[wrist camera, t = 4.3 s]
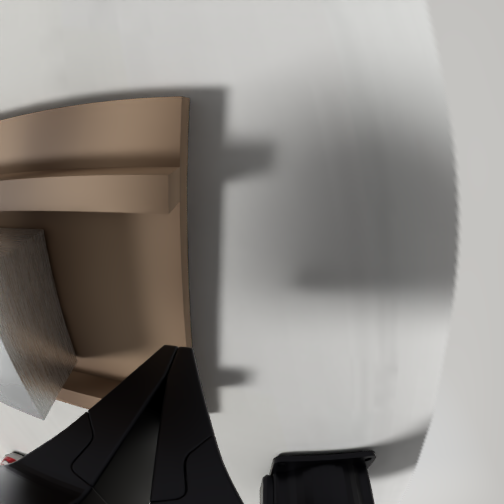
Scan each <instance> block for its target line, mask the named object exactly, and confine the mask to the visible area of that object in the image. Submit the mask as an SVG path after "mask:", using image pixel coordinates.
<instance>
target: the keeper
mask: <svg viewBox="0 0 504 504" xmlns="http://www.w3.org/2000/svg"><path fill="white" fill-rule="evenodd" d="M77 362H78V360H77V357H76V354H75V351H74V349H73V346H72V343H71V340H70V337H69V334H68V330H67V327H66V324H65V321H64V317H63V314H62V310H61V307H60V303H59V300H58V296H57V292H56V288H55V284H54V280H53V276H52V271H51V267H50V262H49V257H48V252H47V247H46V242H45V236H44V231H43V229H24V228H1V227H0V402H2V403H4V404H6V405H8V406H11V407H13V408H15V409H18V410H20V411H22V412H25V413H27V414H29V415H32V416H34V417H37V418H40V419H42V420H45V418H46V416H47V414H48V412H49V410H50V409H51V407H52V405H53V403H54V401H55V400H56V398H57V396H58V394H59V392H60V391H61V389H62V387H63V385H64V384H65V382H66V380H67V379H68V377H69V375H70V373H71V372H72V370H73V368H74V367H75V365H76V363H77Z"/></svg>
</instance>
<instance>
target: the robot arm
mask: <svg viewBox="0 0 504 504" xmlns="http://www.w3.org/2000/svg"><path fill="white" fill-rule="evenodd" d="M375 458H376V456H375V452H374V451H364V452H355V453H344V454H331V455H312V456H279V457H276V458H274V459H273V462H272V466H271V470H270V473H269V475H266V476H264V477H263V479H262V483H261V487H260V504H374V499H373V494H372V489H371V484H370V479H369V475H368V470H367V469H368V467H369V466H370V465H371V464H372V462H373V461H374V460H375ZM149 502H150V504H244V503H243V501H242V499H241V498H240V496H239V494H238V492H237V490H236V488H235V486H234V484H233V482H232V480H231V478H230V476H229V474H228V472H227V470H226V467H225V465H224V463H223V460H222V457H221V454H220V451H219V448H218V445H217V441H216V438H215V435H214V431H213V427H212V423H211V420H210V416H209V412H208V408H207V404H206V400H205V396H204V392H203V388H202V384H201V380H200V376H199V372H198V367H197V363H196V358H195V354H194V350H193V348H191V347H182V346H181V347H178V346H174V345H164V346H162V347H161V348H160V349H159V350H158V351H157V352H155V353H154V354H153V355H152V356H151V357H150V358H148V359H147V360H146V361H145V362H144V363H143V364H142V365H140V366H139V367H138V368H137V369H136V370H135V371H133V372H132V373H131V374H130V375H129V376H128V377H127V378H125V379H124V380H123V381H122V382H121V383H120V384H118V385H117V386H116V387H115V388H114V389H113V390H111V391H110V392H109V393H108V394H107V395H106V396H104V397H103V398H102V399H101V400H100V401H99V402H97V403H96V404H95V405H94V406H93V407H92V408H90V409H89V410H88V412H86V413H84V414H83V415H82V416H81V417H80V418H79V419H77V420H76V421H75V422H74V423H72V424H71V425H70V426H69V427H67V428H66V429H65V430H63V431H62V432H60V433H59V434H58V435H56V436H55V437H53V438H52V439H50V440H49V441H47V442H46V443H44V444H43V445H41V446H40V447H38V448H36V449H35V450H33V451H32V452H30V453H29V454H27V455H25V456H24V457H22V458H20V459H19V460H17V461H15V462H12V463H9V464H6V465H0V504H149Z"/></svg>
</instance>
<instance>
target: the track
mask: <svg viewBox="0 0 504 504" xmlns="http://www.w3.org/2000/svg"><path fill="white" fill-rule="evenodd" d="M189 102H190V98H186V97H154V98H138V99H125V100H114V101H105V102H96V103H88V104H81V105H74V106H67V107H61V108H55V109H50V110H44V111H39V112H34V113H29V114H25V115H20V116H16V117H12V118H8V119H4V120H0V227H1V228H24V229H43V231H44V236H45V242H46V247H47V252H48V257H49V262H50V267H51V271H52V276H53V280H54V284H55V288H56V292H57V296H58V300H59V303H60V307H61V310H62V314H63V317H64V321H65V324H66V327H67V330H68V334H69V337H70V340H71V343H72V346H73V349H74V351H75V354H76V357H77V360H78V362H77V363H76V365H75V367H74V368H73V370H72V372H71V373H70V375H69V377H68V379H67V380H66V382H65V384H64V385H63V387H62V389H61V391H60V392H59V394H58V396H57V398H56V400H59V401H62V402H65V403H69V404H72V405H76V406H79V407H83V408H86V409H90V408H92V407H93V406H94V405H95V404H96V403H97V402H99V401H100V400H101V399H102V398H103V397H104V396H106V395H107V394H108V393H109V392H110V391H111V390H113V389H114V388H115V387H116V386H117V385H118V384H120V383H121V382H122V381H123V380H124V379H125V378H127V377H128V376H129V375H130V374H131V373H132V372H133V371H135V370H136V369H137V368H138V367H139V366H140V365H142V364H143V363H144V362H145V361H146V360H147V359H148V358H150V357H151V356H152V355H153V354H154V353H155V352H157V351H158V350H159V349H160V348H161V347H162V346H164V345H174V346H178V347H181V346H182V347H191V348H192V337H191V321H190V301H189V277H188V241H187V161H188V125H189Z"/></svg>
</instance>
